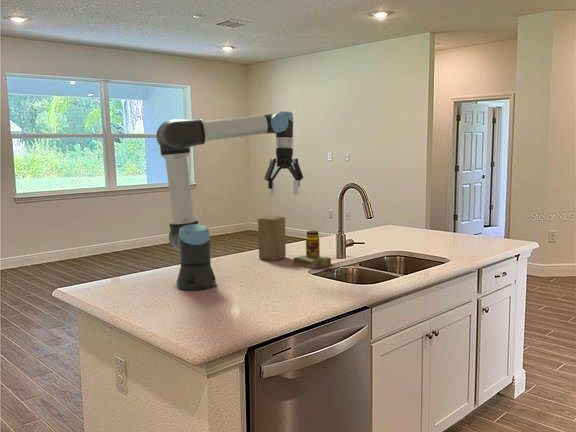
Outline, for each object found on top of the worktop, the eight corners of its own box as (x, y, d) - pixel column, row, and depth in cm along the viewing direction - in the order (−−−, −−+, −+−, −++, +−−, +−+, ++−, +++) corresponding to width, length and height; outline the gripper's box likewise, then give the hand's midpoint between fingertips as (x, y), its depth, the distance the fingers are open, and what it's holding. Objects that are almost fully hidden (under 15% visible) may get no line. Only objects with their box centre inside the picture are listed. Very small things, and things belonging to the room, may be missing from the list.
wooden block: (258, 259, 247) (257, 218, 244) (268, 255, 255) (267, 215, 253) (276, 261, 242) (275, 219, 239) (286, 257, 251) (285, 216, 248)
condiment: (310, 259, 229) (309, 233, 227) (300, 256, 236) (300, 230, 234) (324, 258, 232) (323, 231, 230) (314, 254, 239) (313, 229, 238)
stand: (311, 268, 226) (311, 261, 226) (293, 264, 235) (293, 257, 235) (330, 264, 234) (330, 257, 233) (313, 260, 243) (312, 253, 242)
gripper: (266, 147, 216) (266, 197, 218) (311, 147, 231) (310, 194, 234) (256, 147, 222) (256, 196, 224) (300, 147, 237) (300, 193, 240)
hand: (284, 195), depth 229 cm, fingers open, 13 cm apart
